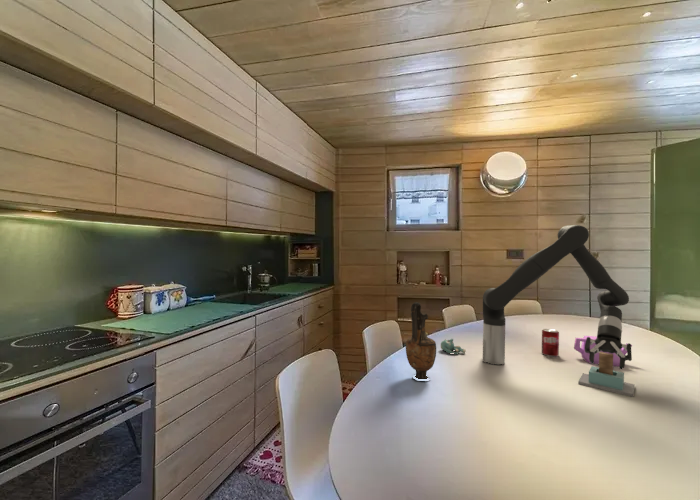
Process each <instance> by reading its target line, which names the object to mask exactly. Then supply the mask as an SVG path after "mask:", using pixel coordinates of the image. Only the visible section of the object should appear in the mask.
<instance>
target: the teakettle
mask: <svg viewBox="0 0 700 500" xmlns="http://www.w3.org/2000/svg"><path fill="white" fill-rule="evenodd" d="M587 337H590V339H594V340H595V339H596V338H597V335H596V336H594V335H583V337H575V340H574V346H573V349H574V350H575V351H577V352H578V353H580V354H581V357H582V358H583V360H584V361H586V363H589V364H592V363H591V362H590V360H589V355H590V354H589V353H586V352H585V344H586V340H587ZM627 344H628V343H626V345H627ZM595 345H596V344H595V343H593V344H592V345H590V349H592V348H594V346H595ZM632 347H633V345H632V344H631V348H632ZM620 350H621V352H622V353H623V354H624V355H627V351H626V350H625V349H624V348H623V347H622V348H621V349H620ZM600 352H603V351H600ZM600 352H599V353H600ZM599 353H596V354H595V355H594V364H595V365H599ZM604 353H608V352H604ZM610 354H612V353H610ZM613 367H619V368H620V358H619V357H618V356H617V355H616V354H615V353H613Z"/></svg>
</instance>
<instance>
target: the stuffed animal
mask: <svg viewBox="0 0 700 500" xmlns="http://www.w3.org/2000/svg"><path fill="white" fill-rule="evenodd" d="M440 348H441V350H442V351H443V350H444V352H445V351H446V353H447V354H449V353H454V354H456V355H458V354H457V353H459V354H460V352H461V353H463V354H465V353H466V349H464V348H462V347H461V346H460V345H455V344H454V338H450V339H444V340H442V341H441V342H440ZM452 350H455V351H456V352H454V351H452Z"/></svg>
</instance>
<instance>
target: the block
mask: <svg viewBox="0 0 700 500" xmlns="http://www.w3.org/2000/svg"><path fill="white" fill-rule="evenodd" d="M598 368H599V372H600V373H604V374H609V375H613V371H614V366H613V354H610V353H604V352H600V353H599V364H598Z"/></svg>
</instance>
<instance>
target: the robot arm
mask: <svg viewBox="0 0 700 500" xmlns="http://www.w3.org/2000/svg"><path fill="white" fill-rule="evenodd" d="M589 237H590V233H589V230H588V229H587V228H586V227H585V226H583V225H578V224H572V225H571V224H570V225H564V226H562V227H561V228H560V229H559V230H558V232H557V239H556V240H555V241H554V242H553V243H552V244H550V245H548V246H547V247H545V248H542V249H541V250H539V251H537V252H534V253H533V254H532V255H531V256H529V257H528V258H526V259H525V260H524V261H523V262H521V264H520V265H518V266H517V268H516V269H515V270H514V271H513V272H512V273H511V275H510V276H509V278H507V279H506V280H505V281H503V283H501V284H500V285H498V286H497V287H490V288H487V289H486V290H485V291H484V293H483V295H482V318H483V321H482V323H483V325H482V326H483V327H482V328H483V329H482V330H483V332H482V333H483V334H482V362H483V361H485V362H484V363H486V362H488V363H487V364H489V363H491V364H490V365H494V364H502V365H504V364H505V363H506V361H505V360H506V356H505V355H506V315H505V307H506V306H507V305H508V304H509V303H510V302H511V301H512V300H513V299H514V298H515V297H517V295H518V294H520V293H521V292H522V291H523V290H525V289H526V288H528V287H529V286H531V285H532V284H533V283H534V282H536V281H537V280H539V279H540V278H541V277H542V276H544V275H545V274H546V273H547V272H548V271H549V270H551V269H552V268H553V267H554V266H555V265H557V264H558V263H559V262H560V261H561V260H562V259H564V258H565V257H566V256H568V255H570V254H571V256H572V257H573V258H574V259H575V260H576V262H577V263H578V265H579V266H580V267H581V269H582V270H583V272H584V273H585V275H586V277H587V278H588V279H589V281H590V283H591V284H592V286H593V287H594V288H596V289H597V290H605V291H601V292H599V293H598V295H597V297H596V299H597V302H598V306H599V309H600V311H599V312H600V315H599V317H600V318H599V320H598V326H597V333H596V337H597V338H596V339H595V340H594V339H590V337H587V340H586V344H585V352H586V353H589V354H590V355H589V360H590V362H591V363H590V364H594V355H595V354H596V353H599V352H600V351H603V352H608V353H612V354H613V353H615V354H616V355H617V356H618V357H619V358H620V367H619V370H623V369H625V367H626V366H625V365H626V361H629V362H631V361H632V360H633V359H632V358H633V357H632V347H631V345H632V344H631V343H627V345H626V344H625V343H622V332H623V324H622V319H623V313H622V312H623V311H622V309H621V308H619V307H621V306H625V305H628V303H629V302H630V298H629V297H630V296H629V295H628V292H627V291H626V290H624V288H623V287H621V286H620V285H619V284H618V283H617V282H616V281H614V280H613V279H612V278H611V276H610V274H609V272H608V271H607V270H606V269H605V267H604V266H603V264H602V263H600V261H599V260H598V259H597V258H595V256H594V255H593V254H592V253H591V252H590V251H589V250H588V248H587V247H586V245H585V244H586V243H587V241H588V240H589ZM593 343H595V344H596V345H595V346H594V348H592V349H590V345H592V344H593ZM622 347H623V348H624V349H625V350H626V351H627V353H626V355H624V354H623V353H622V352H621V350H620V349H621V348H622Z"/></svg>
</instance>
